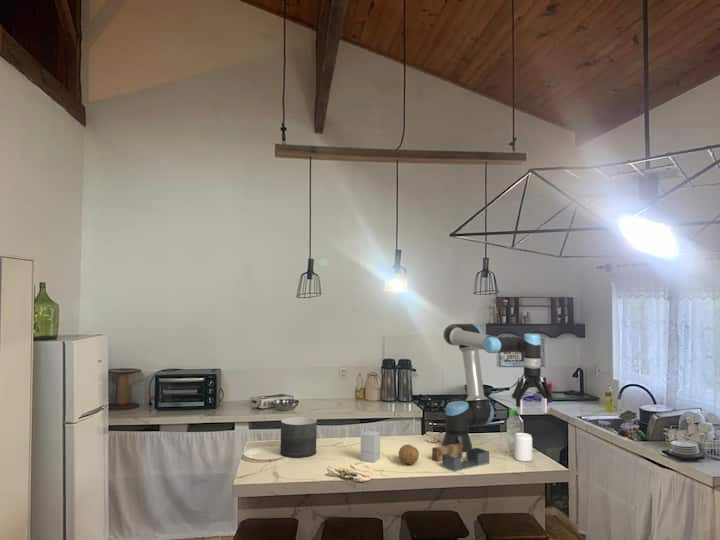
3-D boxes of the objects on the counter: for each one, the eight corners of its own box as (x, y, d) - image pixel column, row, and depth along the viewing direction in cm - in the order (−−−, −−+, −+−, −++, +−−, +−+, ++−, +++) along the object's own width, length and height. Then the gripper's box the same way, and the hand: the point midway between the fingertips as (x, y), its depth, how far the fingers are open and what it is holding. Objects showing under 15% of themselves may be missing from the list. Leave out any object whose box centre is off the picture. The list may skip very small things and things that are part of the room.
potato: (415, 458, 256) (415, 441, 256) (421, 467, 242) (421, 450, 243) (395, 459, 255) (395, 442, 256) (400, 468, 241) (400, 450, 242)
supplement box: (380, 458, 255) (380, 432, 256) (374, 462, 249) (374, 435, 249) (366, 456, 258) (366, 430, 259) (360, 460, 252) (360, 433, 252)
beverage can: (533, 463, 251) (533, 437, 252) (515, 461, 253) (515, 436, 254) (531, 458, 259) (531, 433, 260) (514, 457, 261) (514, 432, 262)
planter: (273, 455, 259) (274, 422, 260) (291, 446, 275) (292, 415, 276) (305, 459, 252) (306, 426, 253) (322, 450, 268) (322, 418, 269)
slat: (436, 462, 251) (436, 449, 252) (432, 460, 254) (432, 447, 255) (462, 457, 260) (462, 445, 260) (457, 455, 263) (457, 443, 263)
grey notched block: (454, 471, 237) (454, 458, 237) (442, 466, 244) (442, 454, 244) (489, 463, 249) (489, 451, 250) (476, 459, 256) (476, 447, 256)
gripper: (514, 368, 240) (514, 416, 239) (559, 367, 248) (559, 413, 247) (504, 366, 247) (504, 412, 246) (548, 365, 255) (548, 409, 255)
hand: (532, 413), depth 247 cm, fingers open, 13 cm apart
